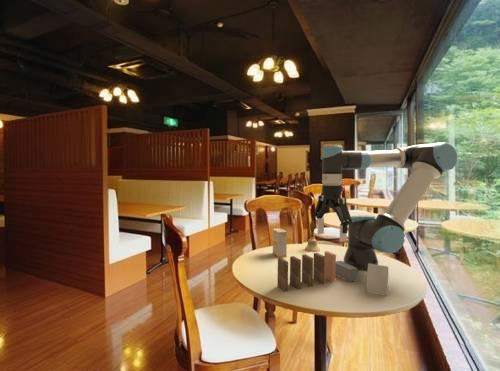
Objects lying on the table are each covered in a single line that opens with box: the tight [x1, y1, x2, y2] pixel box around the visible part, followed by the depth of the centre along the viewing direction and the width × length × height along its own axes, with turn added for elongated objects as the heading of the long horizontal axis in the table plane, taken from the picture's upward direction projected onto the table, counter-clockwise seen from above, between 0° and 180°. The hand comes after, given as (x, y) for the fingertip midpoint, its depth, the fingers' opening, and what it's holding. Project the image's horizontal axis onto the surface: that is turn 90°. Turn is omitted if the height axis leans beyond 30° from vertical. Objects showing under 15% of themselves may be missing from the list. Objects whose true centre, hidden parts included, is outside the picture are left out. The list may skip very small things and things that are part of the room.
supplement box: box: [272, 228, 288, 258], centre depth 148 cm, size 8×5×13 cm, turn 17°
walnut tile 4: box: [313, 252, 325, 285], centre depth 114 cm, size 2×5×11 cm, turn 24°
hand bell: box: [304, 220, 321, 253], centre depth 158 cm, size 8×8×16 cm
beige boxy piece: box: [365, 263, 389, 296], centre depth 105 cm, size 4×7×10 cm, turn 58°
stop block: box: [335, 260, 359, 283], centre depth 119 cm, size 4×10×5 cm, turn 24°
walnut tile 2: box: [289, 255, 302, 290], centre depth 109 cm, size 2×5×11 cm, turn 24°
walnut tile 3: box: [301, 254, 314, 288], centre depth 111 cm, size 2×5×11 cm, turn 24°
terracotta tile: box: [324, 250, 337, 283], centre depth 116 cm, size 2×5×11 cm, turn 24°
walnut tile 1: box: [277, 257, 289, 293], centre depth 107 cm, size 2×5×11 cm, turn 24°
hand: (331, 237), depth 115 cm, fingers open, 13 cm apart
